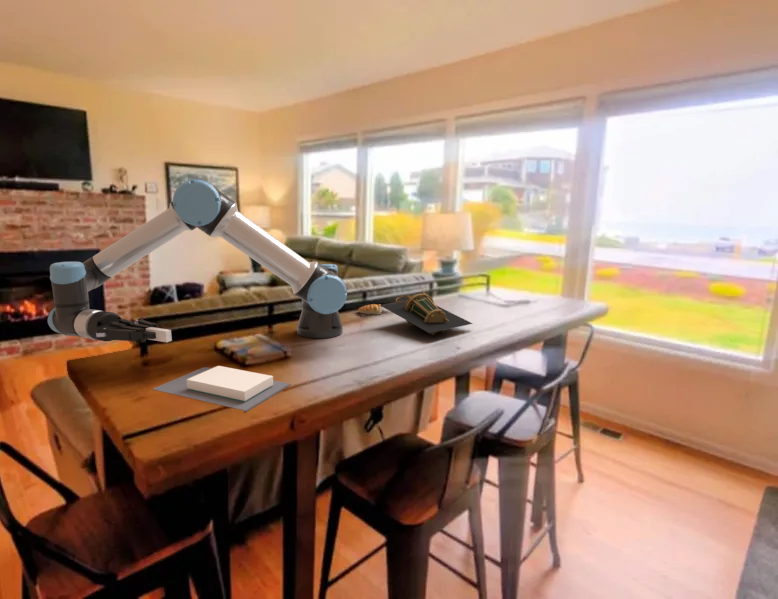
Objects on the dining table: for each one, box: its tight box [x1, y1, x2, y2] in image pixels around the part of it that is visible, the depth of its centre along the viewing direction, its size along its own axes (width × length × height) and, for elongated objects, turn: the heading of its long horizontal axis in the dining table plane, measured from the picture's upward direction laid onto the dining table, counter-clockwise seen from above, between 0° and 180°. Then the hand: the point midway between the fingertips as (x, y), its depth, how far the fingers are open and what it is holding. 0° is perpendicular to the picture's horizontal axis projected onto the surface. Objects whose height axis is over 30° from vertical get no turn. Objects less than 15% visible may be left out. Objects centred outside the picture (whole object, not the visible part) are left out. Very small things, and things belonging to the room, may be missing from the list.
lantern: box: [380, 289, 473, 336], centre depth 162 cm, size 14×23×30 cm
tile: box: [187, 365, 274, 402], centre depth 104 cm, size 2×10×16 cm
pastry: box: [357, 303, 383, 316], centre depth 183 cm, size 9×7×4 cm
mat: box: [152, 366, 291, 413], centre depth 105 cm, size 26×16×1 cm, turn 68°
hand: (168, 336), depth 109 cm, fingers closed
